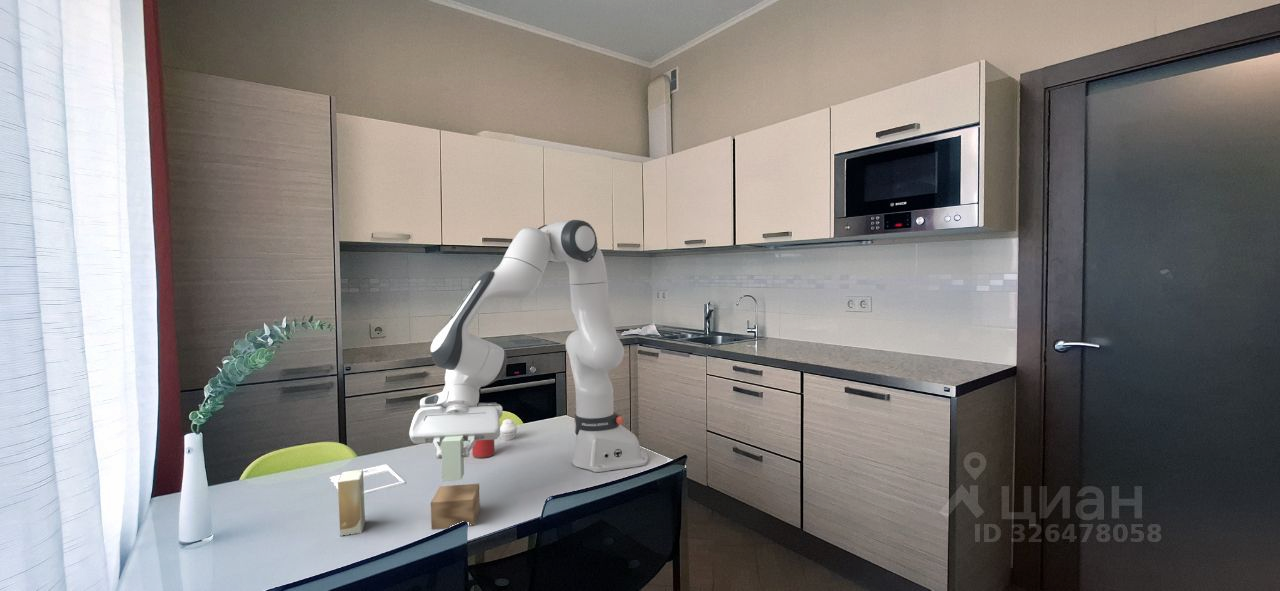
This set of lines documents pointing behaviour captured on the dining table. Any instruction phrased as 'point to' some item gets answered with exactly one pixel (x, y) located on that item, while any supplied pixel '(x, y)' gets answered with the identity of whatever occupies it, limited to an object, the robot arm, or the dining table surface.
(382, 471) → the photo frame
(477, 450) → the beer can
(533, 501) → the dining table surface
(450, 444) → the sage pillar
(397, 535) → the dining table surface
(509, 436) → the muffin
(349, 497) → the skincare box
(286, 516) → the dining table surface
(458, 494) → the walnut block
